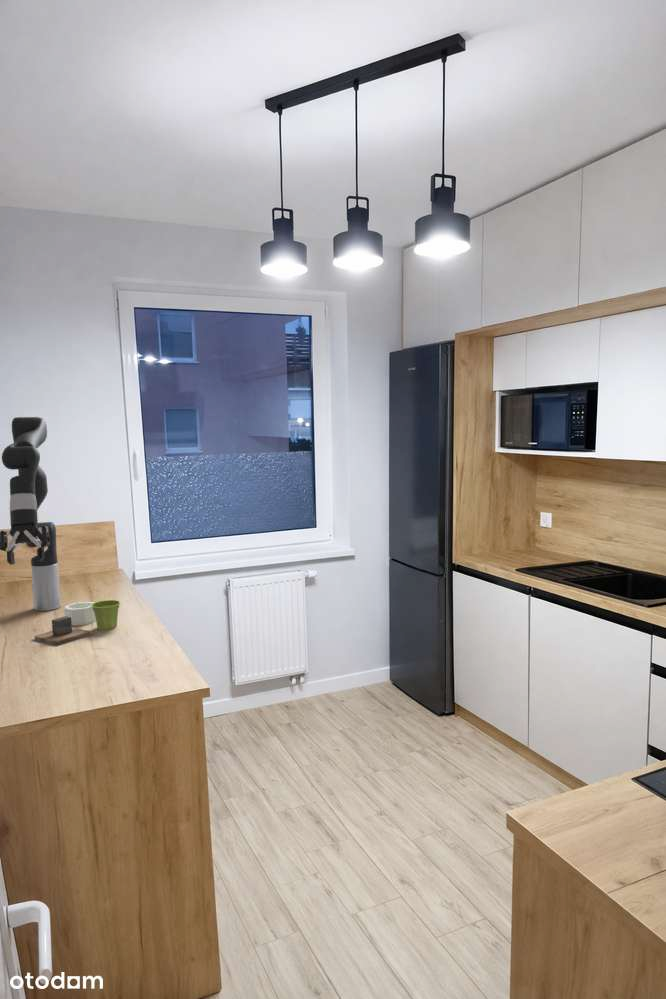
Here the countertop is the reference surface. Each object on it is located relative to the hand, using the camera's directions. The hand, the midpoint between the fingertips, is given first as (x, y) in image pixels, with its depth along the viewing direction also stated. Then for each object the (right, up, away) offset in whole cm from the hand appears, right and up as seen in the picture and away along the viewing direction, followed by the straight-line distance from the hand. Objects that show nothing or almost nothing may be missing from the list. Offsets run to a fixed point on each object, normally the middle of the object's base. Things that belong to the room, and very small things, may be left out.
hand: (26, 562), depth 197 cm
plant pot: (+16, -25, +24) cm, 38 cm away
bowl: (+4, -24, +33) cm, 41 cm away
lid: (+5, -26, +14) cm, 30 cm away
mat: (+5, -26, +14) cm, 30 cm away
